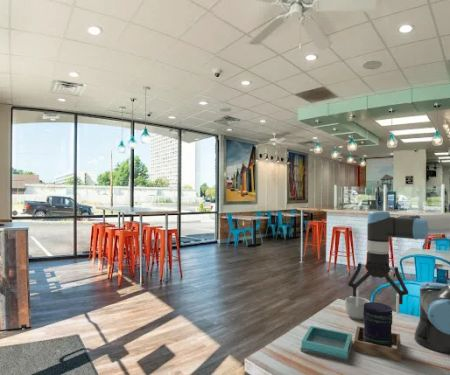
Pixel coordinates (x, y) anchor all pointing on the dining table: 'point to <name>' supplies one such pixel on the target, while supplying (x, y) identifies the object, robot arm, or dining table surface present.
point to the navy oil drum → (377, 324)
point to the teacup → (355, 307)
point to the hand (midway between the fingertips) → (376, 309)
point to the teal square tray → (327, 343)
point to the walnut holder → (378, 346)
